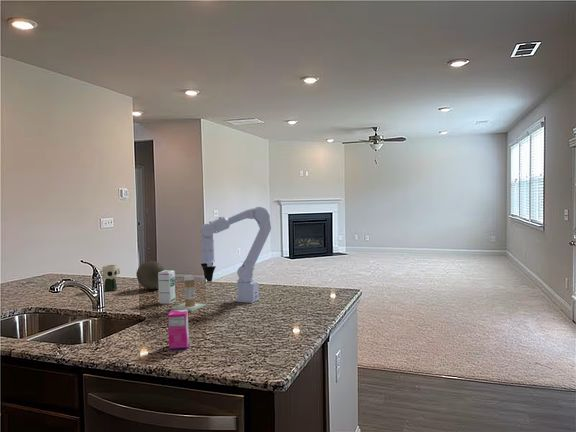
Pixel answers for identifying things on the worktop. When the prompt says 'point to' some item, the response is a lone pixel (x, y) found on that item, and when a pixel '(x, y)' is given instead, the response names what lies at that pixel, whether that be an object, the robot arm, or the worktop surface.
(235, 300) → the robot arm
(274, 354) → the worktop surface
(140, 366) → the worktop surface
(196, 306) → the green white square tile
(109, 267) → the character mug
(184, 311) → the supplement box
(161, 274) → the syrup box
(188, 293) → the sprinkles bottle
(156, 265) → the cantaloupe
